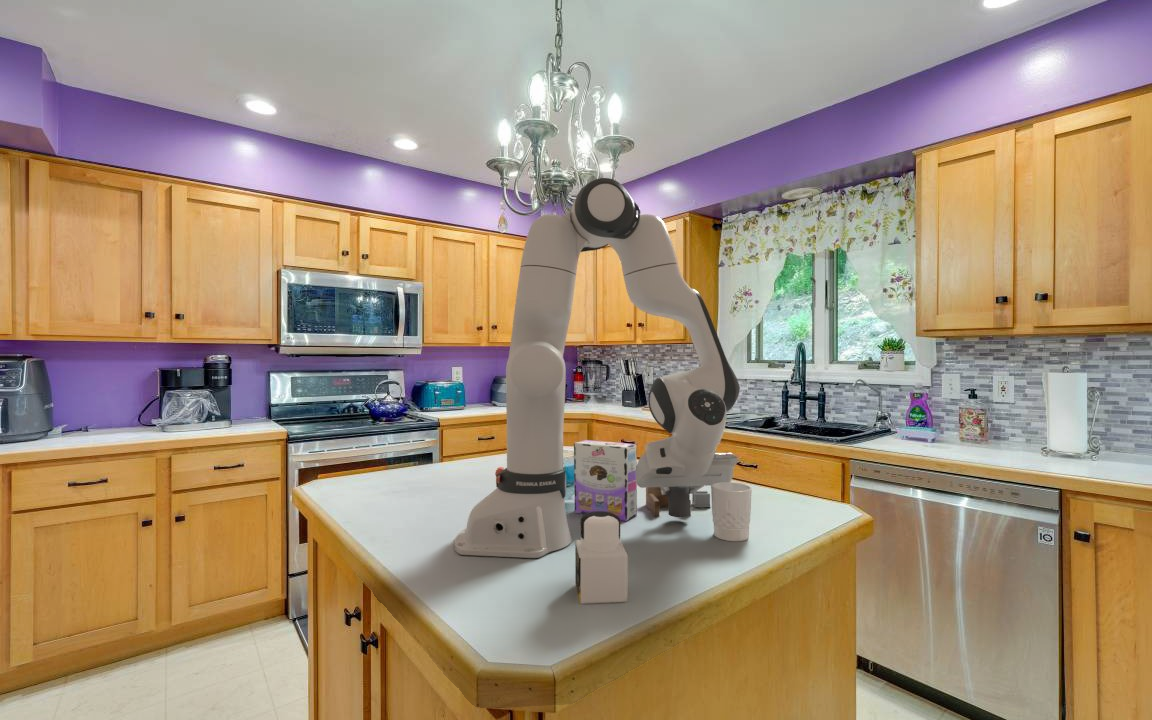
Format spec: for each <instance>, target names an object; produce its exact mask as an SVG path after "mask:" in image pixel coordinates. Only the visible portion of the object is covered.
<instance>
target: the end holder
mask: <svg viewBox="0 0 1152 720" xmlns="http://www.w3.org/2000/svg"><path fill="white" fill-rule="evenodd" d="M645 506H646V507H647V506H648V507H647V508H648V510H649V511H650V510H651V511H650V513H652V515H653V516H654V517H655V518H656V517H657V518H658V517H659V518H660V507H659V506H668V494H667V495H662V492H661V489H660V487H646V488H645ZM691 507H692V499H690V516H689V517H691V516H692V513H691V511H692V508H691Z"/></svg>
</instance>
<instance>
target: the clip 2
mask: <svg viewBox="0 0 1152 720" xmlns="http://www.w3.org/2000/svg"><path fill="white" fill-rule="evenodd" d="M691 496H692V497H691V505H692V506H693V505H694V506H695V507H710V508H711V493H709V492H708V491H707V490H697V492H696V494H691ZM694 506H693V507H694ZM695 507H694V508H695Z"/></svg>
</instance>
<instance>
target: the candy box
mask: <svg viewBox="0 0 1152 720" xmlns="http://www.w3.org/2000/svg"><path fill="white" fill-rule="evenodd" d="M637 449H638V448H637V444H634V443H625V442H613V441H604V440H603V441H602V440H600V441H599V440H591V439H590V440H589V439H585V440H581V441H580V440H579V441H577V442H574V443H573V468H574V469H573V475H574V477H573V481H574V482H573V483H574V484H573V485H574V510H573V511H574V513H576V514H581V515H585V514H587V513H590V512H595V511H605V512H610V513H613V514H615V515H617V516H618V517H619V518H620V521H623V522H627V521H629V520H631V519H633V518H634V517H636V516H637V515H638V498H637V497H638V488H637V487H638V485H637V482H636V476H635V470H636V467H637V464H638V461H637V458H638V456H637V455H638V454H637V453H638V452H637Z"/></svg>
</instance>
